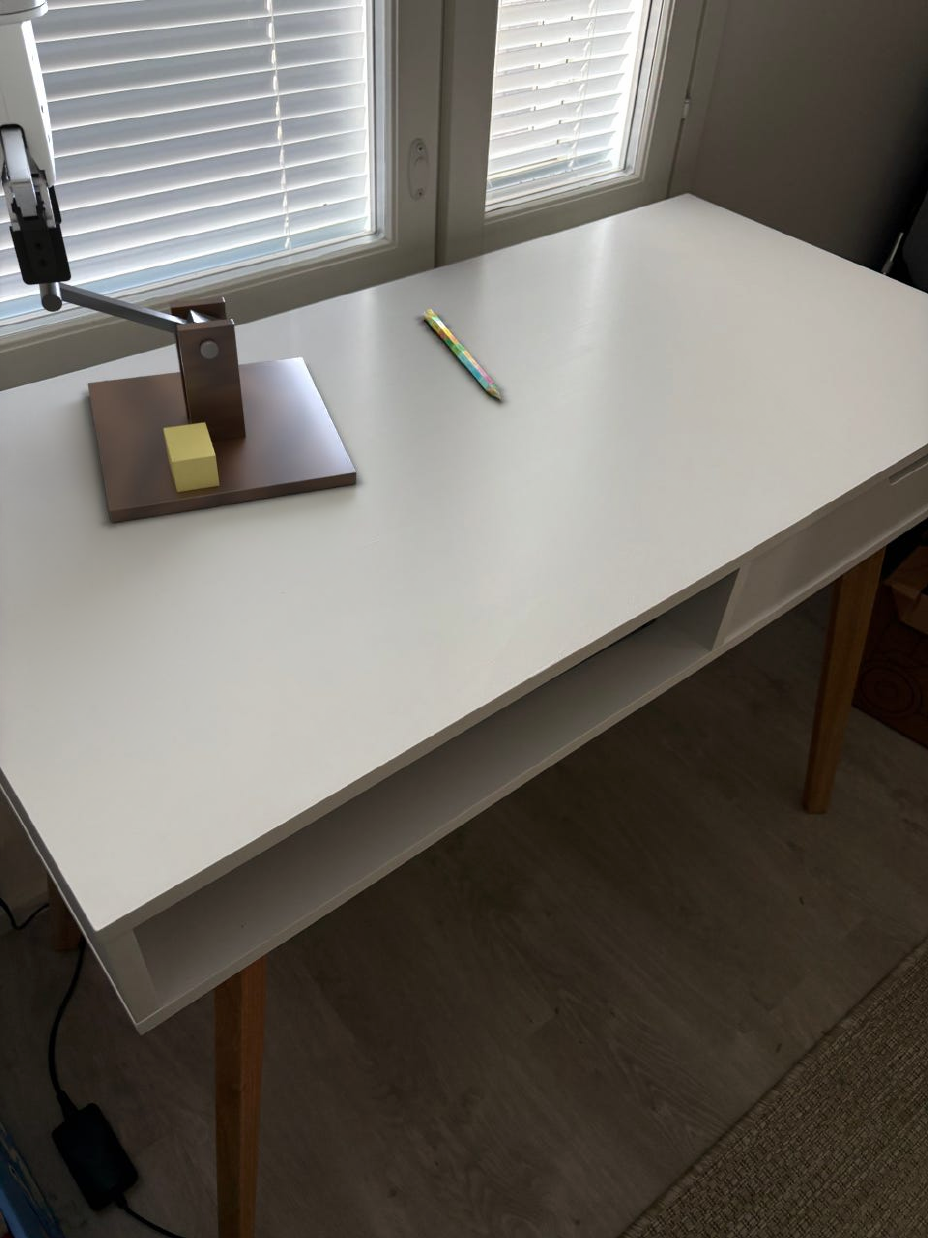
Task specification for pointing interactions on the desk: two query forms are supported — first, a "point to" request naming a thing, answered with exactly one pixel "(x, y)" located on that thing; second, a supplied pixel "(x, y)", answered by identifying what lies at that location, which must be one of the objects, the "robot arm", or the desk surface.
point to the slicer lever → (113, 307)
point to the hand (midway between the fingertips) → (44, 251)
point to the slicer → (215, 425)
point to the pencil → (461, 353)
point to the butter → (191, 457)
